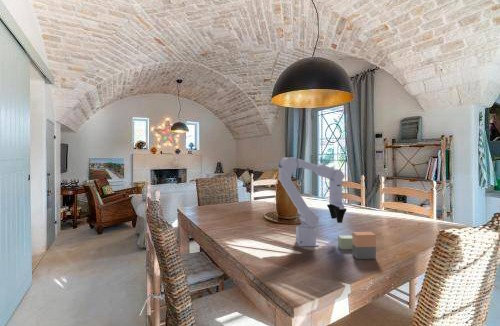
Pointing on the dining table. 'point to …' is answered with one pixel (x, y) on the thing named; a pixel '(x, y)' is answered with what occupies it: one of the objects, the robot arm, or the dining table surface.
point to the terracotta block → (364, 239)
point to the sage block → (345, 242)
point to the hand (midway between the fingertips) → (336, 220)
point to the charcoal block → (364, 252)
